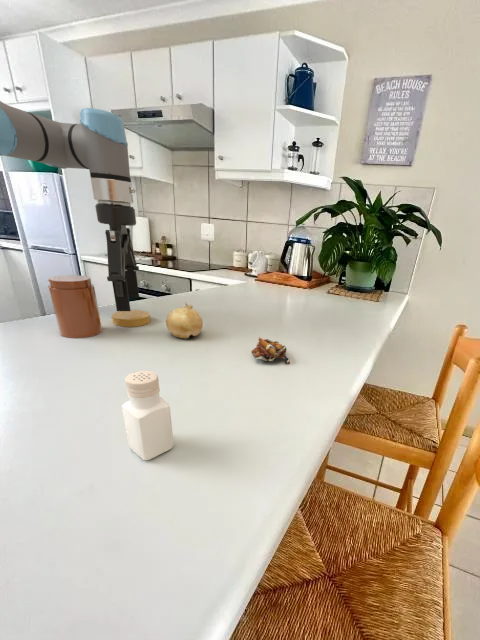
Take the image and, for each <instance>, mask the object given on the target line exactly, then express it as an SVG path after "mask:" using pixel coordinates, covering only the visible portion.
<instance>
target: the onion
mask: <svg viewBox="0 0 480 640" xmlns="http://www.w3.org/2000/svg"><path fill="white" fill-rule="evenodd" d="M184 304H185V305H184V306H183V307H177V308H175V309H173V310H171V311H170V312H169V313H168V314H167V317H166V319H165V325H166V328H167V330H168V332H169V333H170V334H171V335H172V336H173V337H176V338H178V339H190V336H193V337H197V336H198V335H199V334H200V333H201V332H202V330H203V325H204V322H203V319H202V316H201V315H200V313H199V312H198V311H197V310H195V309H194V308H193V305H192V304H188V303H187V302H185V303H184Z"/></svg>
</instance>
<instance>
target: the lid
mask: <svg viewBox="0 0 480 640" xmlns="http://www.w3.org/2000/svg"><path fill="white" fill-rule="evenodd" d="M130 310H131V311H116V312H114V313H112V314H111V320H112V324H113V325H114V326H118V327H124V328H135V327H143V326H146V325H149V324H150V323H151V322H152V317H151V313H150V312H149V311H145V310H140V309H139V310H138V309H130Z"/></svg>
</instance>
